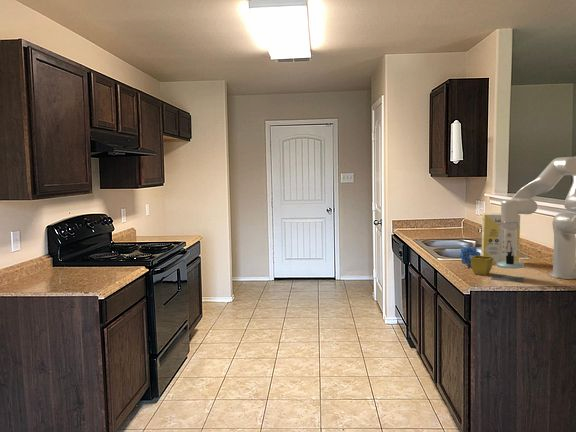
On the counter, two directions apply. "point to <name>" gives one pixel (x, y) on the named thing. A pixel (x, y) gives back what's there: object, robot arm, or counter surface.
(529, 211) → the robot arm
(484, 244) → the pasta box
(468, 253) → the grapes
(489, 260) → the flower pot
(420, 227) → the counter surface
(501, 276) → the mat
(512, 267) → the lid
